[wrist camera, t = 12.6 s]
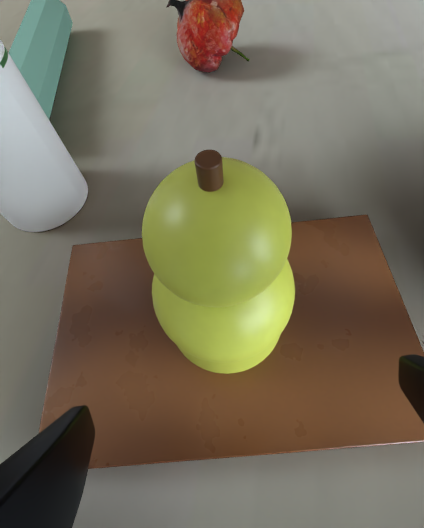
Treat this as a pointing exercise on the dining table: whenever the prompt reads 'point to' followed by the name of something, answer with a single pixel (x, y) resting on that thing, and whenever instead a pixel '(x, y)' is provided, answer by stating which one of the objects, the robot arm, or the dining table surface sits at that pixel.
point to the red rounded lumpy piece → (207, 30)
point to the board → (246, 382)
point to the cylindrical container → (33, 159)
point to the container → (42, 48)
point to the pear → (220, 261)
